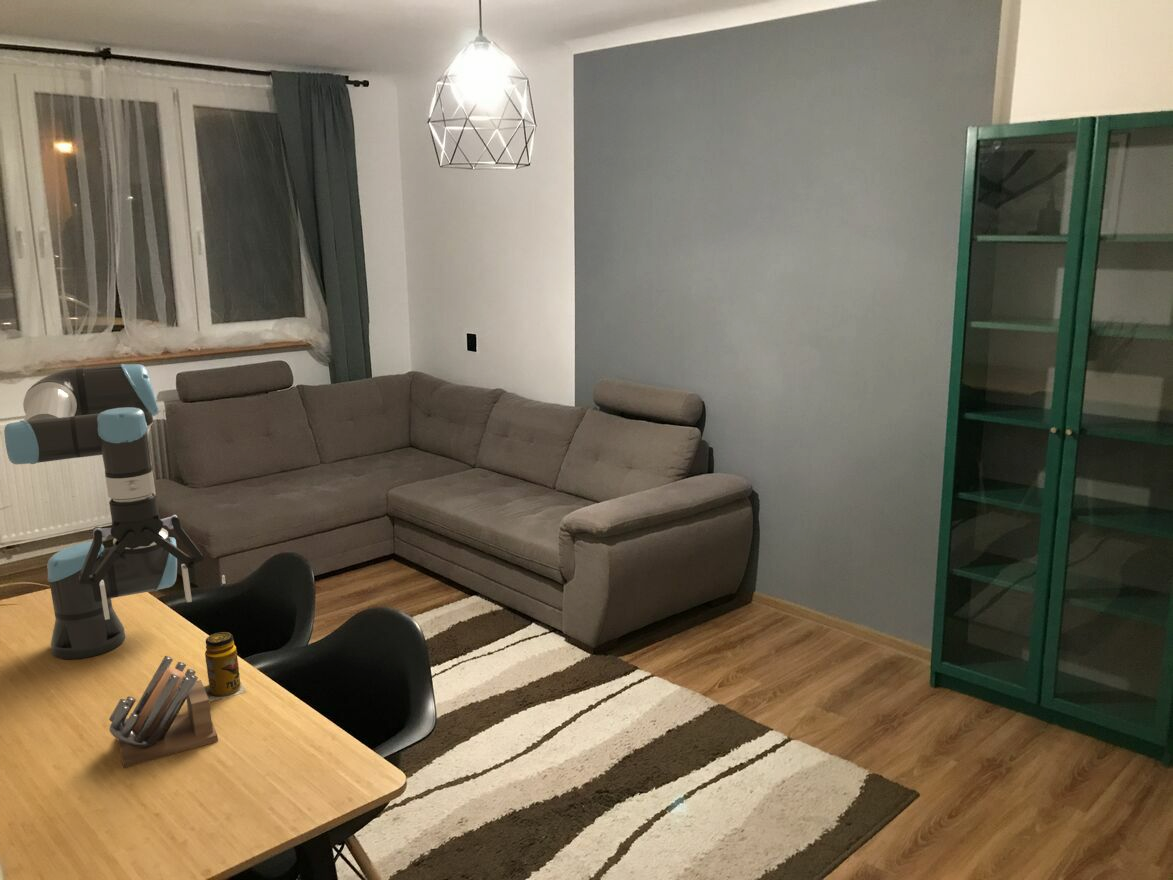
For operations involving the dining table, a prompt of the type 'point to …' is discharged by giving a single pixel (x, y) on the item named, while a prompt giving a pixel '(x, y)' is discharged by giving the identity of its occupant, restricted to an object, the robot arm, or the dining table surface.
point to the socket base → (178, 731)
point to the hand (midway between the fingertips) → (148, 608)
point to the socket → (124, 726)
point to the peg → (155, 695)
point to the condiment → (222, 667)
